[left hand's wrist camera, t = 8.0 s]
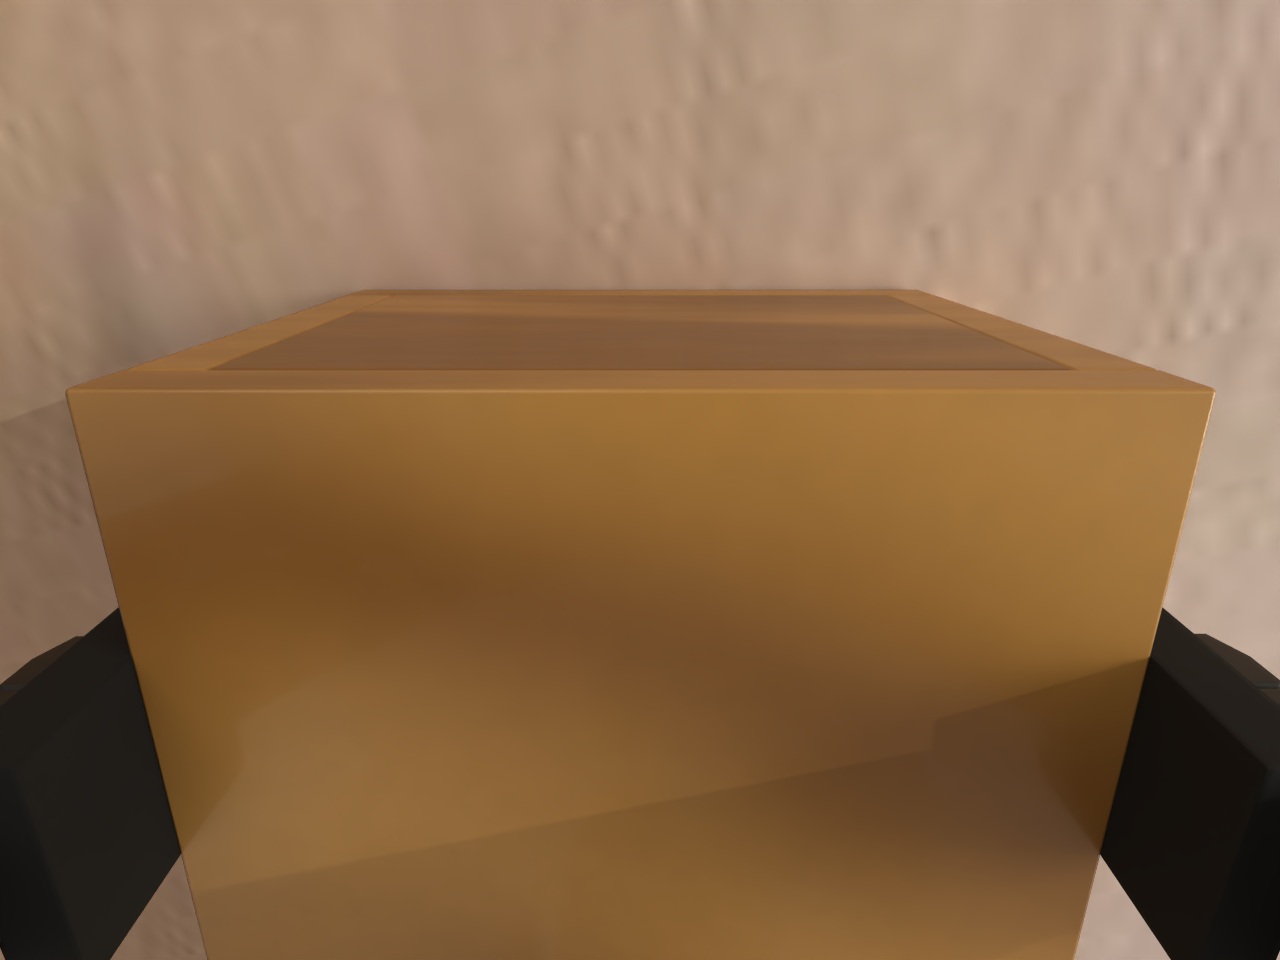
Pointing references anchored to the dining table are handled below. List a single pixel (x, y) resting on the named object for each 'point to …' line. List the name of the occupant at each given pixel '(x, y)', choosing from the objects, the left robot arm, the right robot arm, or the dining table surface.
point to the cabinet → (640, 620)
